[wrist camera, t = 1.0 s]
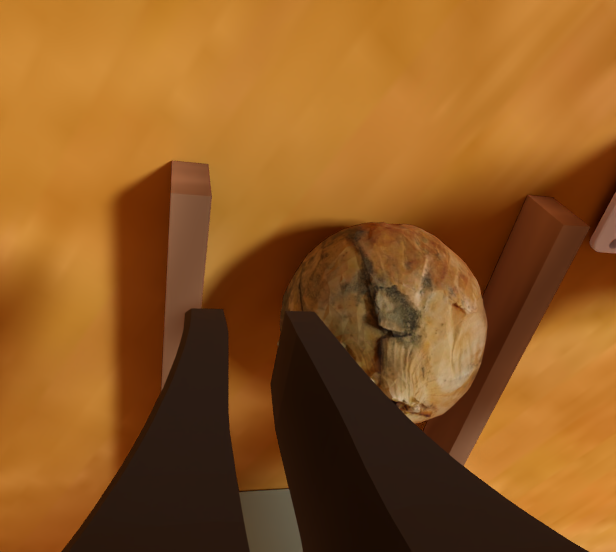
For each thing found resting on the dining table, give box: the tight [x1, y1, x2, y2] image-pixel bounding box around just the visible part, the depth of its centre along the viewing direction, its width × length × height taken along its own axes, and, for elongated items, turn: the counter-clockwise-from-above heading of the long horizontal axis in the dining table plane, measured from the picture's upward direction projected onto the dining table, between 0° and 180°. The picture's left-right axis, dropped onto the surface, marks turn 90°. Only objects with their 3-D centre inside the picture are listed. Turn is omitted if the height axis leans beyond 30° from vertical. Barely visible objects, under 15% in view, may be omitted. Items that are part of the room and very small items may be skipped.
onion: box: [277, 222, 487, 424], centre depth 19 cm, size 8×8×8 cm
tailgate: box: [239, 489, 303, 552], centre depth 28 cm, size 1×12×5 cm, turn 78°
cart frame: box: [161, 161, 590, 466], centre depth 24 cm, size 15×18×2 cm
